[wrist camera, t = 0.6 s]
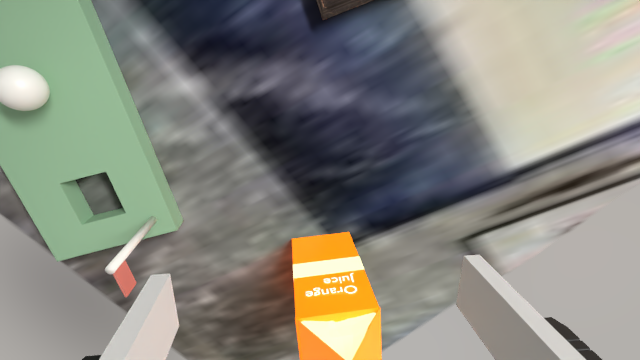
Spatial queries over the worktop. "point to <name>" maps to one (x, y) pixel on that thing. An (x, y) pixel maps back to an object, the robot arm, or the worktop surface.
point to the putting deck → (79, 136)
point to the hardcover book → (337, 6)
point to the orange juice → (334, 301)
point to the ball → (22, 88)
